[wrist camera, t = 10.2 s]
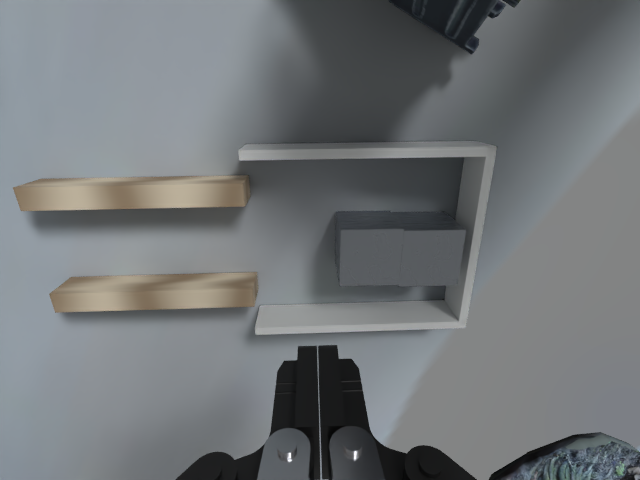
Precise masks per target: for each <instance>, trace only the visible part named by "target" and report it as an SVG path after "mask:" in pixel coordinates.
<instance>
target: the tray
mask: <svg viewBox="0 0 640 480" xmlns="http://www.w3.org/2000/svg"><path fill="white" fill-rule="evenodd" d="M496 151H497V146H494V145H490V144H486V143H482V142H478V141H429V142H359V143H289V144H246V145H244V146H243V147H242V148H241V149H239V150H238V152H239V161H242V160H305V159H369V158H432V157H464V163H463V170H462V177H461V184H460V191H459V198H458V205H457V212H456V219H455V221H456V222H457V223H458V224H460V225H461V226H462V227H463V228H465V229H466V235H465V241H464V247H463V254H462V260H461V266H460V272H459V278H458V284H457V285H448V286H446V290H445V297H444V300H428V301H394V302H361V303H327V304H294V305H260V307H259V311H258V316H257V321H256V325H255V334H256V335H269V334H299V333H330V332H360V331H391V330H421V329H452V328H466V324H467V318H468V312H469V307H470V301H471V295H472V289H473V284H474V278H475V272H476V266H477V261H478V255H479V249H480V243H481V238H482V232H483V226H484V220H485V215H486V209H487V203H488V197H489V192H490V186H491V180H492V174H493V169H494V163H495V157H496Z"/></svg>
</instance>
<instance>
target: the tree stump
mask: <svg viewBox="0 0 640 480" xmlns="http://www.w3.org/2000/svg"><path fill="white" fill-rule="evenodd" d="M489 480H640V452H639V451H638V450H637V449H635V448H634V447H633V446H631V445H630V444H629V443H627V442H624V441H622V440H619V439H617V438H614V437H611V436H609V435H606V434H604V433H601V432H597V433H586V434H576V435H572V436H569V437H566V438H564V439H561V440H558V441H556V442H553V443H550V444H548V445H545V446H542V447H540V448H537V449H534V450H532V451H529V452H527V453H526V454H524V455H523V456H521V457H520V458H518V459H516V460H514V461H513V462H511V463H509V464H508V465H506V466H504V467H503V468H501V469H499V470H497V471H496V472H494V473H493V474H492V475H491V477H490V478H489Z"/></svg>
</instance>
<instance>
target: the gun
mask: <svg viewBox="0 0 640 480" xmlns="http://www.w3.org/2000/svg"><path fill="white" fill-rule="evenodd" d="M503 1H504V2H506V3H508V4H509V5H511V6H512V7H515V6H516V5H517V4H518V3H519V1H520V0H503ZM389 2H390V3H392V4H394V5H395V6H397V7H398V8H400V9H401V10H403V11H404V12H406V13H408V14H409V15H411V16H412V17H414V18H415V19H417V20H419V21H420V22H422V23H423V24H425V25H426V26H428V27H429V28H431V29H433V30H434V31H436V32H437V33H439V34H440V35H442V36H444V37H445V38H447V39H448V40H450V41H451V42H453V43H455V44H456V45H458V46H459V47H461V48H462V49H464V50H465V51H467V52H469V53H470V54H473V53H474V51H475V50H476V48H477V47H478V45H479V39H478V38H476V37H475V36H473V35H474V34H475V33H476V31H477V30H478V28H479V27H480V26H481V24H482V23H483V22H484V20H485V19H486V18H487V16H489V17H491V18H495V17H497V16H498V15H499V14H500V13H501V12H502V10H503V9H504V7H505V6H506V5H505V4H504V3H502V2H501V1H499V0H389Z"/></svg>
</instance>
